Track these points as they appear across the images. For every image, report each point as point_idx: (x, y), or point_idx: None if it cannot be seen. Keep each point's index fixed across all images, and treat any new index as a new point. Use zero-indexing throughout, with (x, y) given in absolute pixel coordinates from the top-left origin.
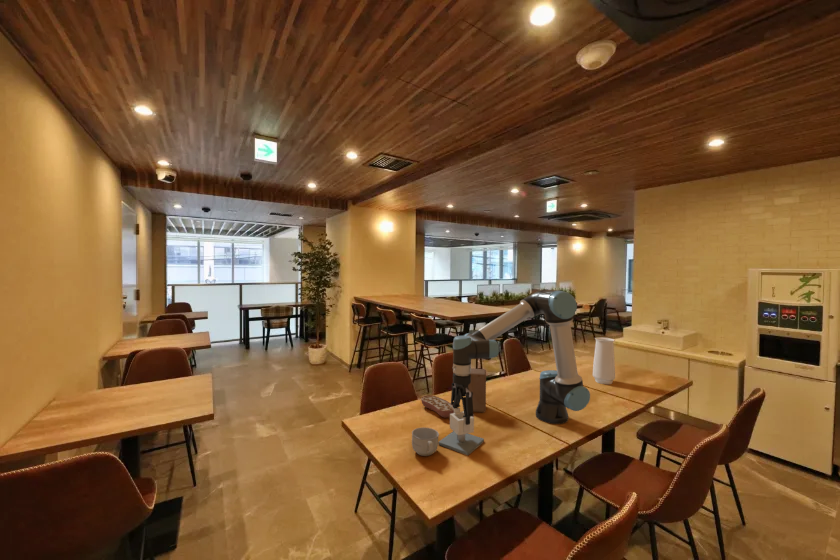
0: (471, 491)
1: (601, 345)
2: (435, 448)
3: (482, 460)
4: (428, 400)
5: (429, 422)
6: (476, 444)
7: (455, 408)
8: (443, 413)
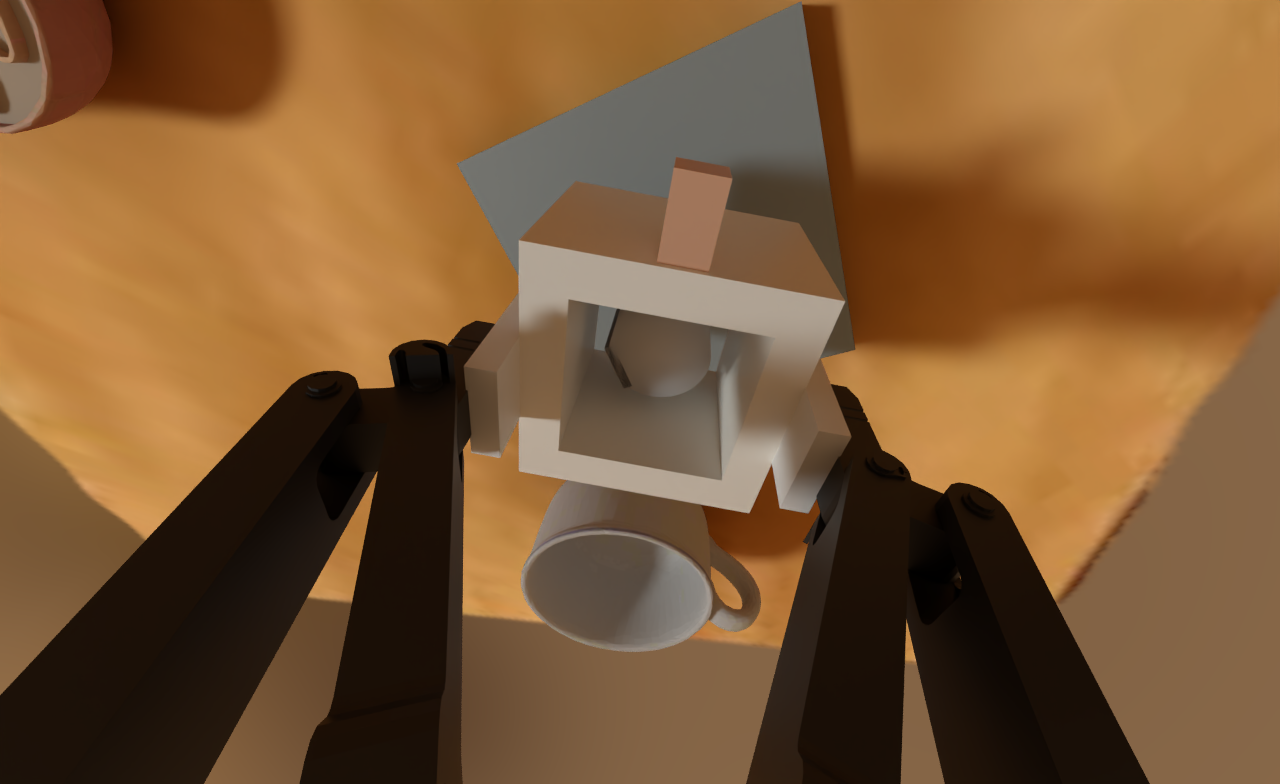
0: (1080, 530)
1: None
2: (705, 520)
3: (986, 292)
4: None
5: (220, 251)
6: (823, 193)
7: (479, 433)
8: (84, 94)
